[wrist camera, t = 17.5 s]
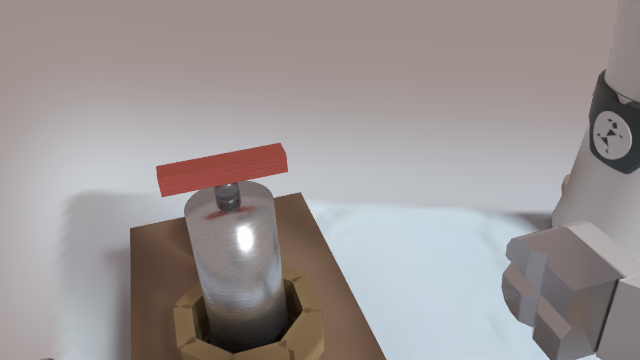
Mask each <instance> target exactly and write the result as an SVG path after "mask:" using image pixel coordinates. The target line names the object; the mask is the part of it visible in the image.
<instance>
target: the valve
mask: <svg viewBox="0 0 640 360" xmlns="http://www.w3.org/2000/svg"><path fill="white" fill-rule="evenodd" d="M156 168H157V169H156V170H157V179H158V183H159V187H160V191H161V195H162V197H166V196H171V195H176V194H181V193H186V192H190V191H195V190H200V189H201V190H200V191H198V192H197V193H195V194H194V195H193V196H192V197H191V198H190V199H189V200H188V201H187V203H186V205H185V209H184V214H185V218H186V222H187V227H188V231H189V236H190V240H191V244H192V249H193V253H194V258H195V262H196V266H197V271H198V275H199V280H200V284H201V288H202V293H203V297H204V301H205V306H206V310H207V315H208V319H209V323H210V325H209V329H208V335H209V340H210V344H211V345H213V346H215V347H218V348H220V349H223V350H225V351H227V352H230V353H232V354H236V353H240V352H243V351H247V350H251V349H254V348H258V347H262V346H265V345H269V344H273V343H276V342H280V341H281V340H282V339H283V337H284V336H285V335H286V333H287V332H288V330H289V329H290V328H291V326H292V321H291V315H290V313H289V311H288V309H287V308H286V300H285V291H284V283H283V275H282V267H281V258H280V250H279V242H278V233H277V225H276V217H275V209H274V200H273V195H272V193H271V192H270V190H269V189H267V188H266V187H265V186H263V185H261V184H259V183H256V182H251V181H245V180H250V179H255V178H260V177H265V176H269V175H275V174H280V173H284V172H288V167H287V158H286V153H285V151H284V149H283V147H282V145H281V143H277V144H271V145H266V146H261V147H256V148H251V149H245V150H240V151H235V152H230V153H224V154H219V155H213V156H208V157H203V158H197V159H192V160H187V161H182V162H176V163H172V164H166V165H161V166H157V167H156Z"/></svg>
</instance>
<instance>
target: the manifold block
mask: <svg viewBox="0 0 640 360" xmlns="http://www.w3.org/2000/svg"><path fill="white" fill-rule="evenodd" d="M273 200H274V209H275V217H276V225H277V233H278V242H279V250H280V258H281V267H282V275H283V283H284V291H285V300H286V308H287V309H288V311H289V313H290V315H291V321H292V326H291V328H290V329H289V330H288V332H287V333H286V335H285V336H284V337H283V339H282V340H281V341H280V342H276V343H273V344H269V345H265V346H262V347H258V348H254V349H251V350H247V351H243V352H240V353H236V354H232V353H230V352H227V351H225V350H223V349H220V348H218V347H215V346H213V345H211V344H210V340H209V335H208V329H209V325H210V323H209V319H208V315H207V310H206V306H205V301H204V297H203V293H202V288H201V284H200V280H199V275H198V271H197V266H196V262H195V258H194V253H193V249H192V244H191V240H190V236H189V231H188V227H187V222H186V218H185V217H182V218H177V219H173V220H168V221H163V222H159V223H154V224H149V225H145V226H140V227H135V228H130V246H131V330H132V360H386V358H385V356H384V354H383V352H382V350H381V348H380V346H379V344H378V342H377V340H376V338H375V336H374V334H373V332H372V330H371V329H370V327H369V325H368V323H367V321H366V319H365V317H364V315H363V313H362V311H361V309H360V307H359V305H358V303H357V301H356V299H355V297H354V295H353V293H352V292H351V290H350V288H349V286H348V284H347V282H346V280H345V278H344V276H343V274H342V272H341V270H340V268H339V266H338V264H337V262H336V260H335V258H334V256H333V254H332V253H331V251H330V249H329V247H328V245H327V243H326V241H325V239H324V237H323V235H322V233H321V231H320V229H319V227H318V225H317V223H316V221H315V219H314V217H313V215H312V214H311V212H310V210H309V208H308V206H307V204H306V202H305V200H304V198H303V196H302V194H301V192H300V193H295V194H290V195H286V196H281V197H276V198H273Z"/></svg>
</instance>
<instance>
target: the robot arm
mask: <svg viewBox="0 0 640 360" xmlns="http://www.w3.org/2000/svg"><path fill="white" fill-rule="evenodd" d="M589 121H590V122H589V124H588V127H587V129H586V132H585V135H584V138H583V140H582V143H581V146H580V149H579V151H578V154H577V157H576V160H575V163H574V166H573V169H572V171H571V174H570V175H567V176H566V177H565V178H564V182H563V184H562V197H561V199H560V201H559V203H558V205H557V206H556V208H555V210H554V212H553V215H552V227H553V228H550V229H546V230H542V231H538V232H535V233H531V234H527V235H523V236H520V237H516V238H512V239H511V241H510V242H509V243H508V245H507V250H506V257H507V258H508V259H509V260H510V261H511V264H510V265H509V266H508V268H507V269H506V270H505V271H504V273H503V277H502V291H503V295H504V300H505V302H506V304H507V306H508V308H509V310H510V311H511V313H512V314H513V315H514V316H515V318H516V319H517V320H518V321H520V322H522V323H524V324H526V325H528V326H531V327H532V338H533V340H534V341H535V342H536V343H537V344H538V346H539V347H540V348H541V349H542V350H543V352H544V353H545V354H546V355H547V356H548V358H549V359H550V360H576V359H579V358H583V357H586V356H590V355H593V354H596V356H597V357H598V358H600V359H602V360H640V0H618V6H617V13H616V20H615V27H614V33H613V37H612V43H611V48H610V53H609V58H608V62H607V67H606V69H605V70H604V71H602V72H601V74H600V75H599V77H598V80H597V84H596V86H595V89H594V92H593V99H592V104H591V108H590V113H589ZM42 360H54V359H50V358H46V359H42Z"/></svg>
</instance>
